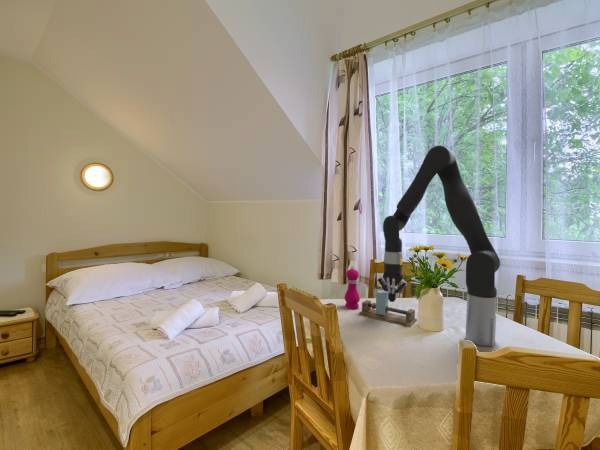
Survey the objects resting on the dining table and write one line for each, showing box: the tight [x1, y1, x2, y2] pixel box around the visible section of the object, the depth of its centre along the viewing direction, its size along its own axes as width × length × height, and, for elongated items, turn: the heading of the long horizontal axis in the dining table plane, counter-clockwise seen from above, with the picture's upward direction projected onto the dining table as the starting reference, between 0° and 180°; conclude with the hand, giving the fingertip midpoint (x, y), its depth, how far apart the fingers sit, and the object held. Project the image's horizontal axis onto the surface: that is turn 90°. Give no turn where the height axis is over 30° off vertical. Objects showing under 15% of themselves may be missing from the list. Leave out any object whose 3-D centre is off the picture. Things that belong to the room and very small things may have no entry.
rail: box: [358, 299, 418, 327], centre depth 141 cm, size 23×8×5 cm, turn 53°
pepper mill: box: [344, 266, 361, 310], centre depth 155 cm, size 7×7×20 cm
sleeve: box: [375, 290, 389, 315], centre depth 143 cm, size 4×4×9 cm
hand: (391, 301), depth 140 cm, fingers closed
